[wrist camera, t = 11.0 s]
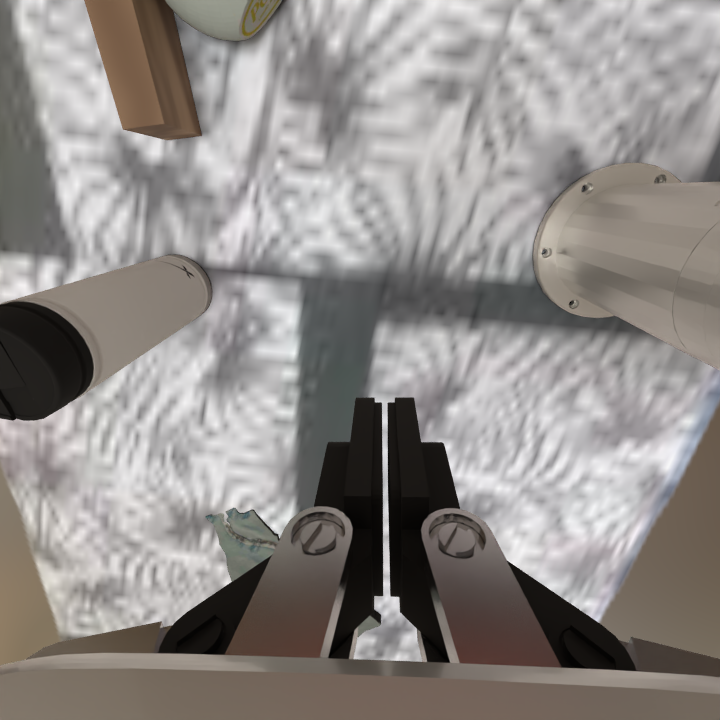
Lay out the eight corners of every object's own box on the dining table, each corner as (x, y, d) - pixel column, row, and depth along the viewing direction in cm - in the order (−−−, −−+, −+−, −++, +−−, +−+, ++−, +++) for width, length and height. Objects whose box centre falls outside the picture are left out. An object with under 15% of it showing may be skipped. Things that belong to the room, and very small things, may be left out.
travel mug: (200, 246, 35) (6, 303, 17) (220, 314, 38) (70, 428, 20) (137, 255, 36) (-116, 319, 18) (161, 322, 39) (-39, 439, 20)
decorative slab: (195, 616, 58) (189, 629, 56) (208, 496, 48) (201, 508, 46) (364, 651, 59) (363, 666, 57) (410, 541, 49) (411, 554, 48)
